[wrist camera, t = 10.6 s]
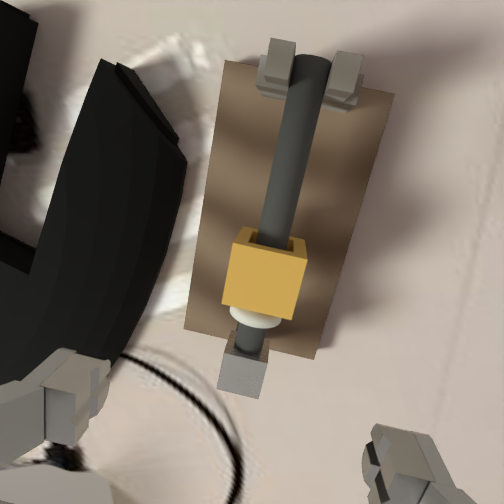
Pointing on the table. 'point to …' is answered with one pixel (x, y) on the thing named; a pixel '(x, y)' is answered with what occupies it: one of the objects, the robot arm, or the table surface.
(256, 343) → the dark grey rod
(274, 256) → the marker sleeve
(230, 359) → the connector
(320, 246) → the slider rail assembly
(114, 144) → the black u-shaped plate
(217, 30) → the table surface
